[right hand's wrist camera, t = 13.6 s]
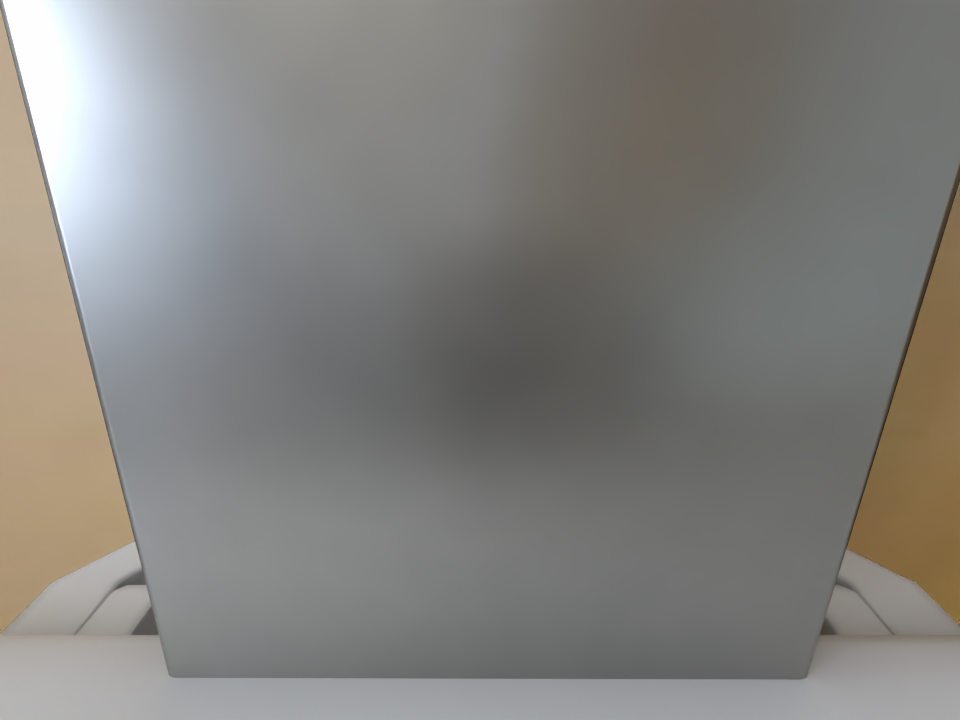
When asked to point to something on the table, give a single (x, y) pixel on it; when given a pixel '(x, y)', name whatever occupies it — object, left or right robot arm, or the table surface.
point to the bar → (493, 315)
